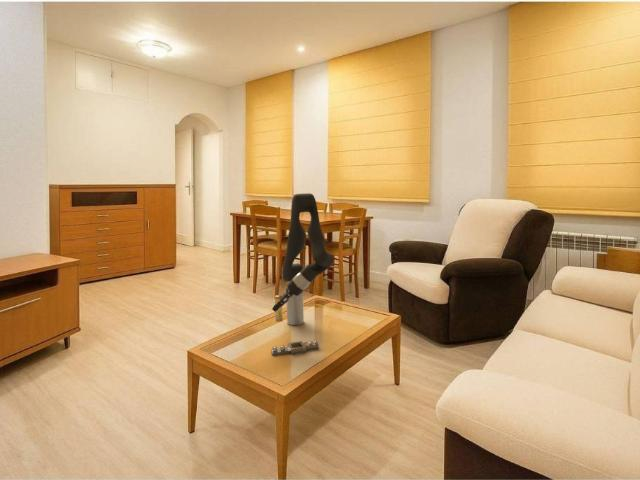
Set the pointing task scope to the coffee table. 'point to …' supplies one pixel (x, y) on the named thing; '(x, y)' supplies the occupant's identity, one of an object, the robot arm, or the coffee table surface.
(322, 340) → the coffee table surface
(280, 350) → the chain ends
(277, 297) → the pin
